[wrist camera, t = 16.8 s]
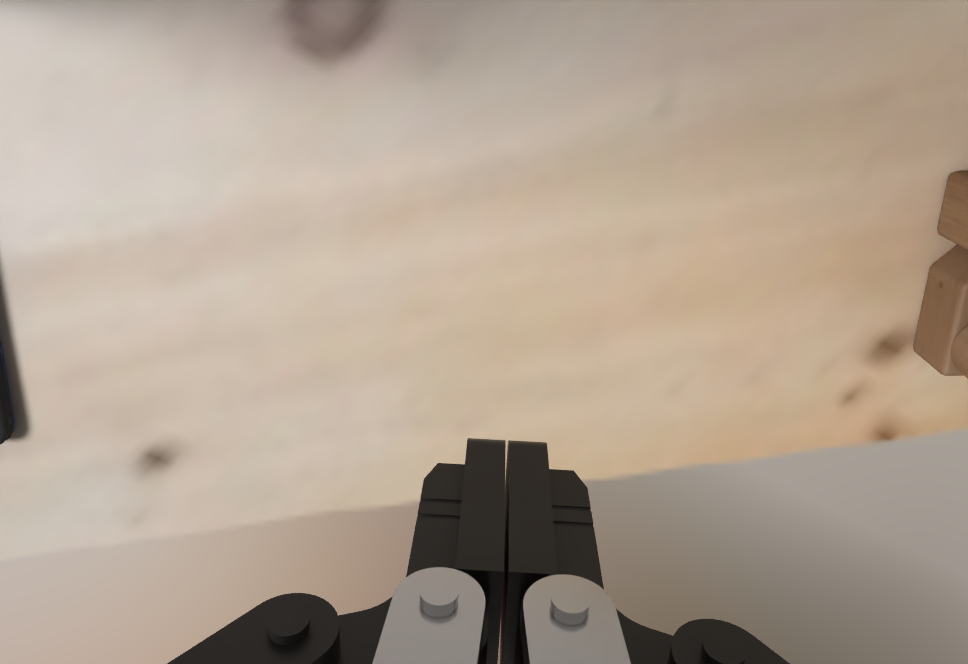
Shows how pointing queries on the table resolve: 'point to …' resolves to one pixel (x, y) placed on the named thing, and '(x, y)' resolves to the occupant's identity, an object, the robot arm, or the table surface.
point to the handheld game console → (4, 406)
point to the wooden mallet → (948, 289)
